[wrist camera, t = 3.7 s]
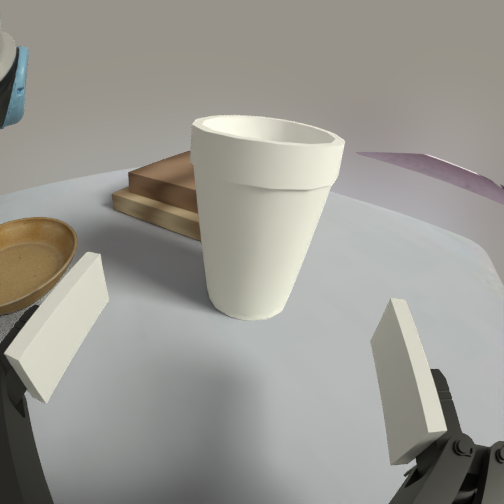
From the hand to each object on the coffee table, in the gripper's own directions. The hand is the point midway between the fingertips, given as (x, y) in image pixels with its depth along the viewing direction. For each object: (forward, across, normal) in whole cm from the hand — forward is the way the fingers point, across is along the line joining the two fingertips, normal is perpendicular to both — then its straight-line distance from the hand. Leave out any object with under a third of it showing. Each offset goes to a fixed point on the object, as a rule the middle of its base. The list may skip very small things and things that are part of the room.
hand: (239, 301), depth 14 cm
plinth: (+25, -8, -7) cm, 27 cm away
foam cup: (+9, 0, -7) cm, 12 cm away
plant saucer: (+6, -22, -8) cm, 24 cm away
